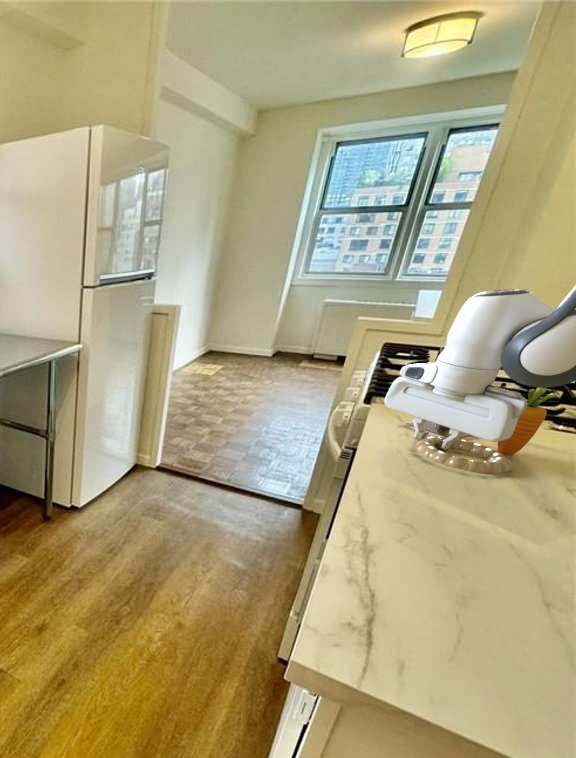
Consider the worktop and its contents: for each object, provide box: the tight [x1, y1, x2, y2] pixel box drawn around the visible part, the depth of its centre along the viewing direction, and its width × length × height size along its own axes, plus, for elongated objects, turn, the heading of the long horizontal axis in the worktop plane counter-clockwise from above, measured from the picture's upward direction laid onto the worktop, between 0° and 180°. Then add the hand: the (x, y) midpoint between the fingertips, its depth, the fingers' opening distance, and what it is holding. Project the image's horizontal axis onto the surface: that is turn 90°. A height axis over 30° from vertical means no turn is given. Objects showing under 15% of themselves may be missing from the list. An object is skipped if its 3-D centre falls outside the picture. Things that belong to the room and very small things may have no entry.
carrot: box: [497, 387, 558, 457], centre depth 92 cm, size 5×5×15 cm
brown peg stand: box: [405, 421, 472, 439], centre depth 103 cm, size 9×9×14 cm
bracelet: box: [414, 436, 512, 475], centre depth 93 cm, size 14×14×3 cm
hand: (429, 443), depth 98 cm, fingers closed on bracelet, 3 cm apart
